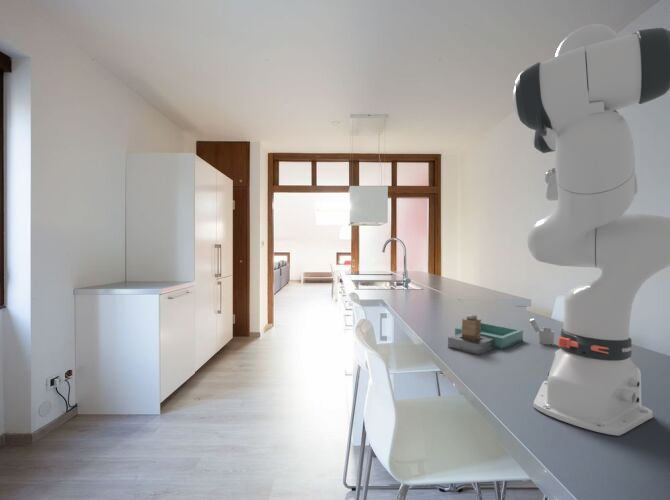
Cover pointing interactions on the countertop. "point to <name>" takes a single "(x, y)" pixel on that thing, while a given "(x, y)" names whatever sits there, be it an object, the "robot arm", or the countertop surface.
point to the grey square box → (471, 344)
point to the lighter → (543, 333)
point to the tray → (498, 334)
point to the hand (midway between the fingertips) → (587, 215)
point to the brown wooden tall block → (471, 328)
